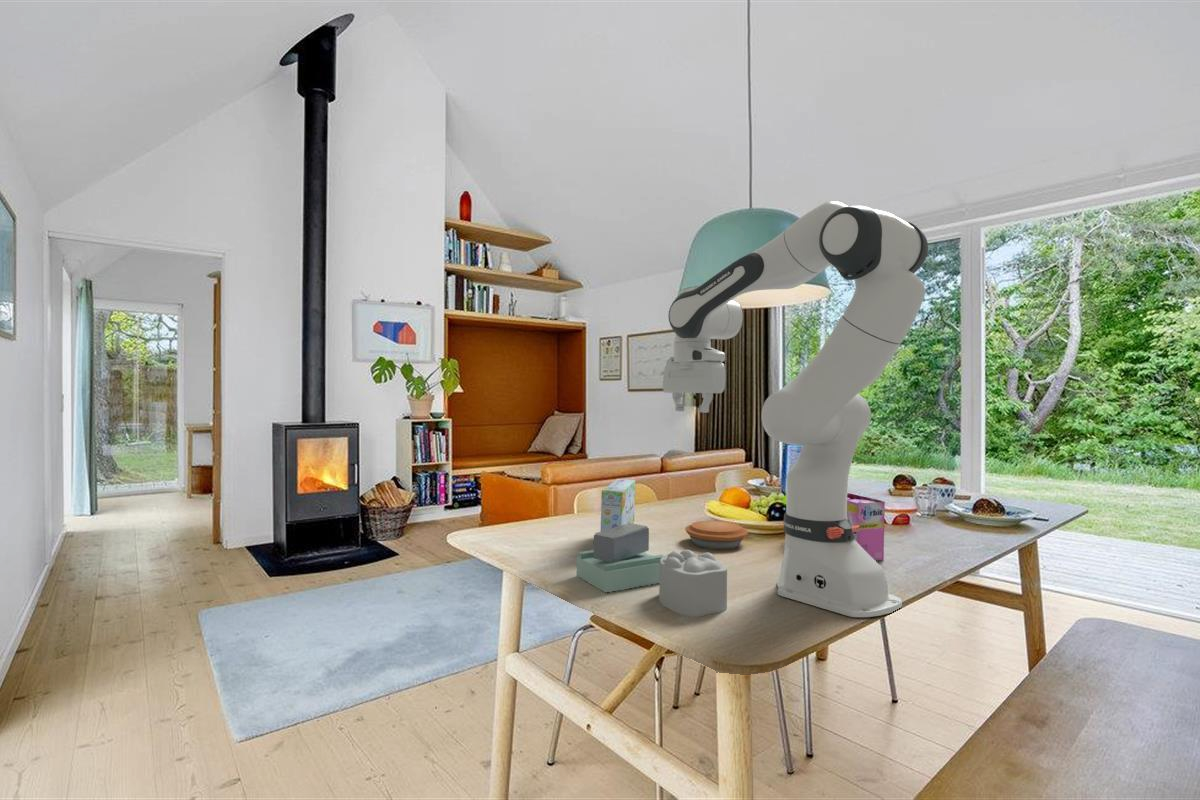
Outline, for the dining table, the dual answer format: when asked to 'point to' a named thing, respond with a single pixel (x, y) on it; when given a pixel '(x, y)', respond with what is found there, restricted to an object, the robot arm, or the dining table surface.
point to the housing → (621, 542)
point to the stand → (619, 571)
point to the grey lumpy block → (692, 583)
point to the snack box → (618, 504)
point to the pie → (716, 534)
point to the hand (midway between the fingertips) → (691, 411)
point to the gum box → (867, 523)
